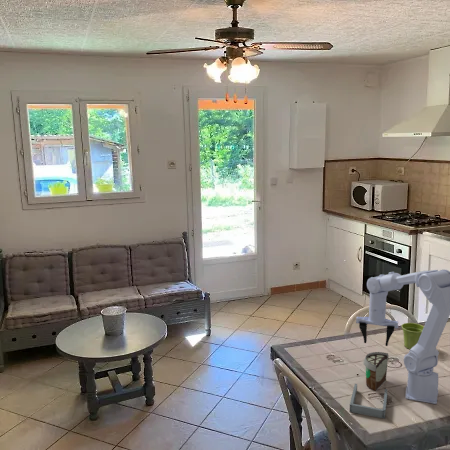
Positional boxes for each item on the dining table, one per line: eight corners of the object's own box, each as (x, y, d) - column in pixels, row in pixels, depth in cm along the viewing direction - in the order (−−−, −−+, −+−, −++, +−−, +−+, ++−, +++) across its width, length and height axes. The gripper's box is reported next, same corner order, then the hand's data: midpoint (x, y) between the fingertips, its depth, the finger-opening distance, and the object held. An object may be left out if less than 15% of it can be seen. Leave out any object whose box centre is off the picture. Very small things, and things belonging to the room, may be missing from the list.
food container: (370, 373, 170) (371, 348, 168) (387, 379, 166) (388, 352, 164) (356, 387, 160) (357, 360, 159) (374, 393, 157) (375, 366, 155)
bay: (387, 396, 155) (387, 389, 154) (384, 418, 142) (385, 411, 142) (354, 390, 159) (354, 383, 158) (349, 411, 146) (349, 404, 146)
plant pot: (426, 345, 193) (427, 325, 191) (422, 354, 185) (423, 333, 183) (403, 340, 198) (404, 321, 196) (398, 348, 190) (399, 328, 188)
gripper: (399, 307, 170) (397, 341, 172) (358, 302, 175) (356, 336, 177) (398, 313, 163) (396, 349, 165) (356, 308, 168) (354, 343, 171)
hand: (375, 343), depth 171 cm, fingers open, 7 cm apart
